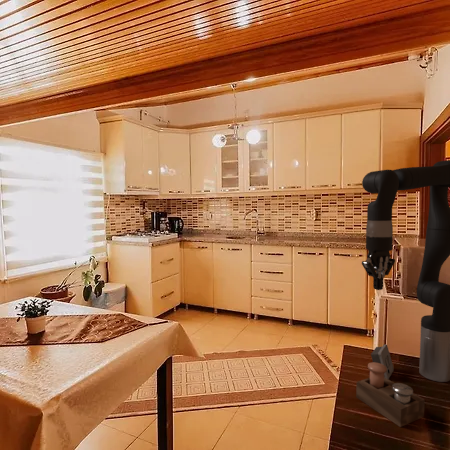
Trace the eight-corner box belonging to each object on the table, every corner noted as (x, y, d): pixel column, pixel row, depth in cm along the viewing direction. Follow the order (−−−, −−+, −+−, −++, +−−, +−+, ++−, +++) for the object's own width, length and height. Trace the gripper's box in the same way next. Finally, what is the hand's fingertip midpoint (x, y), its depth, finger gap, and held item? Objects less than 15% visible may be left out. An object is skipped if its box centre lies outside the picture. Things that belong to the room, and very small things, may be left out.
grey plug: (399, 406, 96) (400, 381, 95) (416, 416, 91) (417, 390, 91) (387, 411, 94) (388, 385, 93) (404, 421, 89) (404, 395, 88)
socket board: (378, 389, 105) (379, 374, 105) (424, 416, 92) (424, 399, 91) (356, 397, 101) (356, 381, 101) (400, 427, 87) (400, 409, 87)
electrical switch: (388, 381, 110) (386, 354, 110) (372, 377, 113) (369, 351, 113) (394, 370, 117) (392, 344, 117) (378, 367, 121) (376, 342, 121)
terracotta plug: (375, 384, 103) (375, 361, 103) (389, 392, 99) (390, 368, 98) (363, 388, 101) (364, 364, 101) (377, 397, 96) (378, 372, 96)
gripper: (383, 232, 107) (382, 284, 108) (354, 235, 102) (353, 289, 103) (404, 234, 101) (402, 289, 102) (374, 237, 95) (373, 295, 96)
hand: (378, 289), depth 102 cm, fingers closed
